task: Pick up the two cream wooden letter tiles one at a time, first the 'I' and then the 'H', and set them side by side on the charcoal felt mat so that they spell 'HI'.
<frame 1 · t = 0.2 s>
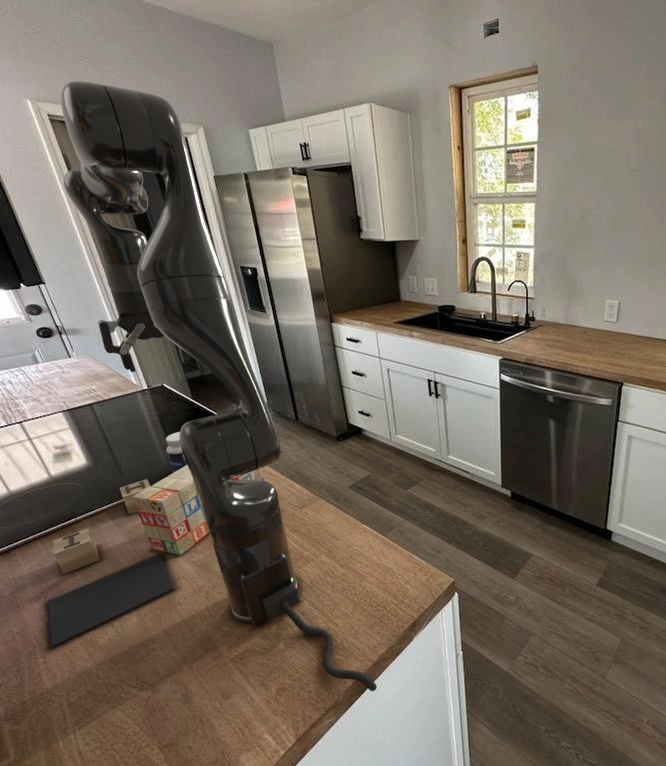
hand: (160, 366, 85), 29 cm above the worktop, tool pointing down, fingers open, 8 cm apart
tile I: (80, 560, 74), on the worktop
pill bottle: (189, 472, 100), on the worktop
tile H: (141, 505, 88), on the worktop
word mat: (113, 596, 67), on the worktop
stack of blocks: (215, 516, 86), on the worktop
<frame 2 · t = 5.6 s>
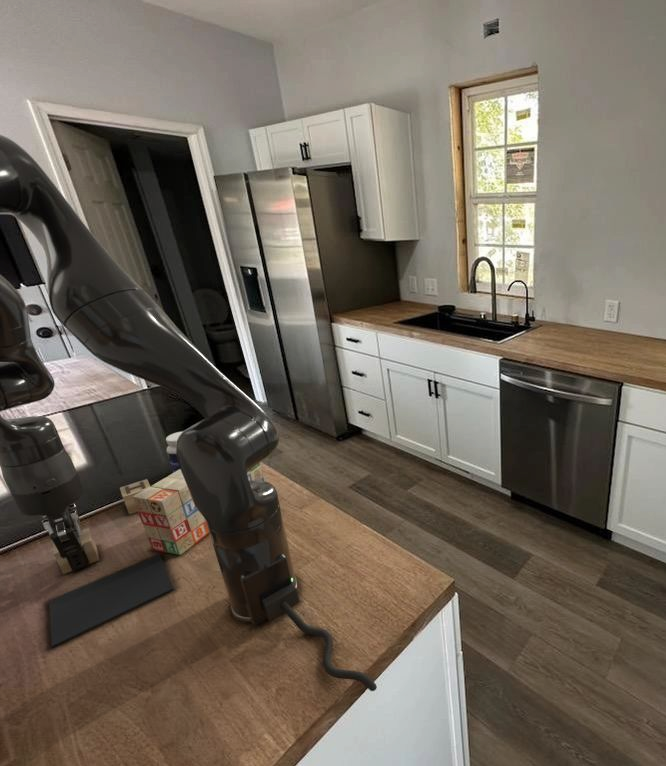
hand: (80, 559, 74), 0 cm above the worktop, tool pointing down, fingers closed on tile I, 4 cm apart
tile I: (80, 560, 74), on the worktop, touching gripper
everything else where it was.
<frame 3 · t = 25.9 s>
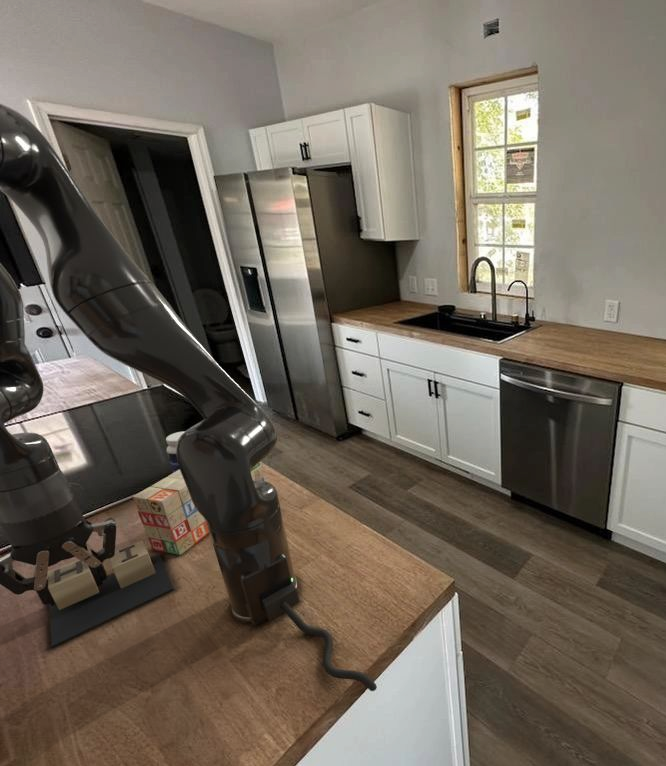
hand: (78, 591, 66), 2 cm above the worktop, tool pointing down, fingers closed on tile H, 4 cm apart
tile I: (136, 573, 71), resting on word mat
tile H: (78, 593, 66), point 2 cm above the worktop, touching gripper
everything else where it was.
when the fingers open (2 cm above the worktop, at t = 30.1 s): tile H drops 1 cm, resting on word mat.
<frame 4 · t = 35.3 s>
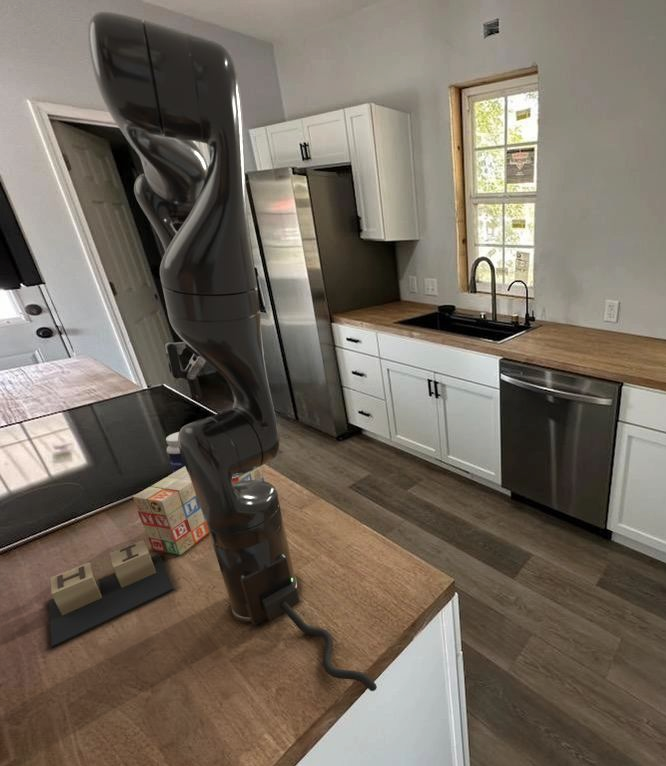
hand: (226, 390, 77), 28 cm above the worktop, tool pointing down, fingers open, 8 cm apart
tile H: (81, 598, 66), resting on word mat
everything else where it was.
at the end: tile H 1.0 cm from the target spot on the word mat, point 0.4 cm above the word mat's base; tile I 1.3 cm from the target spot on the word mat, point 0.4 cm above the word mat's base; tile H tilted 0° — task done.
